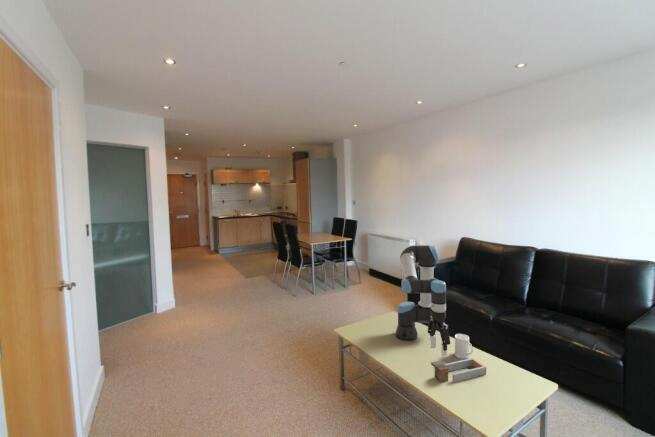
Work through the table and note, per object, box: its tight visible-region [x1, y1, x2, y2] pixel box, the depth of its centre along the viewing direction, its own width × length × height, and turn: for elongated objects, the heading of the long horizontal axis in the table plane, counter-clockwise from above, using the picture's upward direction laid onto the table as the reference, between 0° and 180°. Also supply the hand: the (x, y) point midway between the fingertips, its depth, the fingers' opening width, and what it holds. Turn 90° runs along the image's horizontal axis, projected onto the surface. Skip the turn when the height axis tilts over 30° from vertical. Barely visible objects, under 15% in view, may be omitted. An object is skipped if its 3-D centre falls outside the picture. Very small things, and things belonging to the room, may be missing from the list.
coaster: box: [430, 359, 448, 367], centre depth 183 cm, size 8×8×1 cm
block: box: [434, 363, 449, 383], centre depth 170 cm, size 5×5×7 cm
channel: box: [444, 357, 487, 383], centre depth 175 cm, size 10×21×4 cm, turn 108°
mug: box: [454, 333, 474, 360], centre depth 192 cm, size 12×8×12 cm
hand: (438, 351), depth 169 cm, fingers open, 8 cm apart
